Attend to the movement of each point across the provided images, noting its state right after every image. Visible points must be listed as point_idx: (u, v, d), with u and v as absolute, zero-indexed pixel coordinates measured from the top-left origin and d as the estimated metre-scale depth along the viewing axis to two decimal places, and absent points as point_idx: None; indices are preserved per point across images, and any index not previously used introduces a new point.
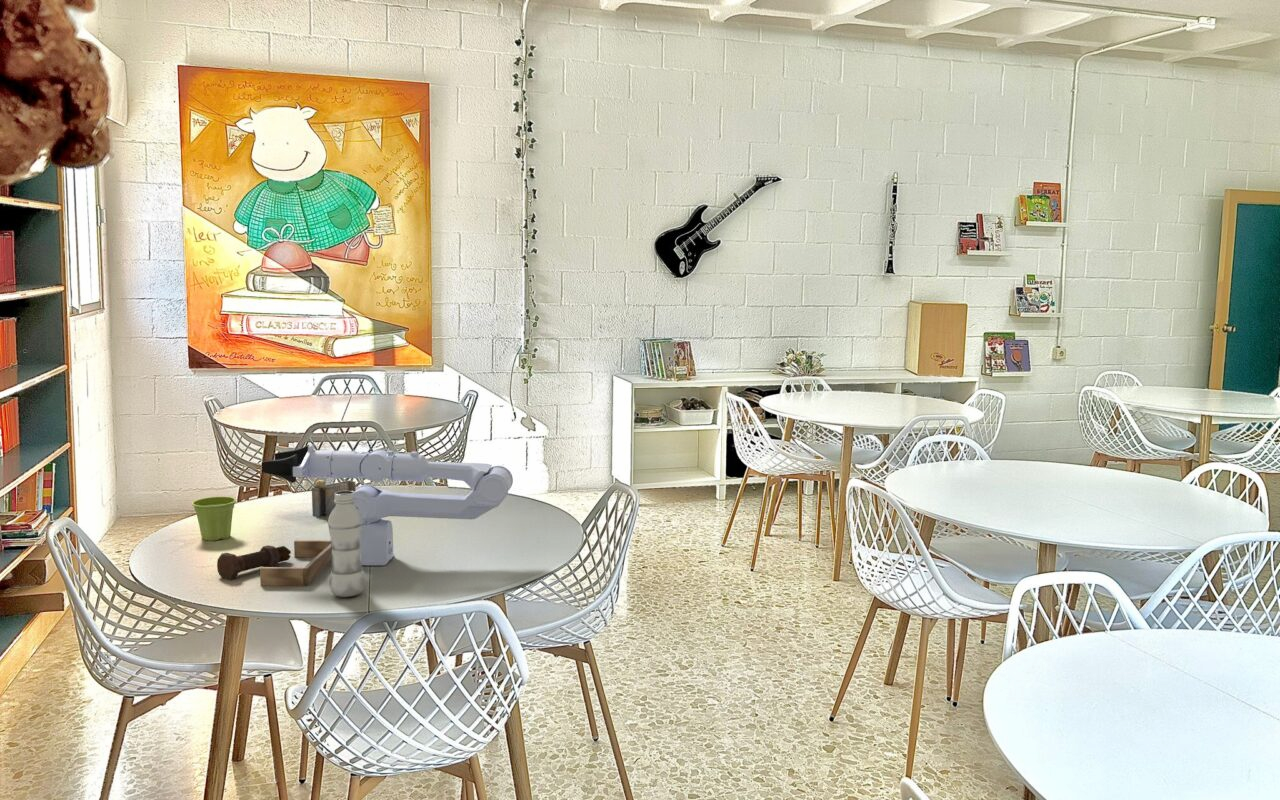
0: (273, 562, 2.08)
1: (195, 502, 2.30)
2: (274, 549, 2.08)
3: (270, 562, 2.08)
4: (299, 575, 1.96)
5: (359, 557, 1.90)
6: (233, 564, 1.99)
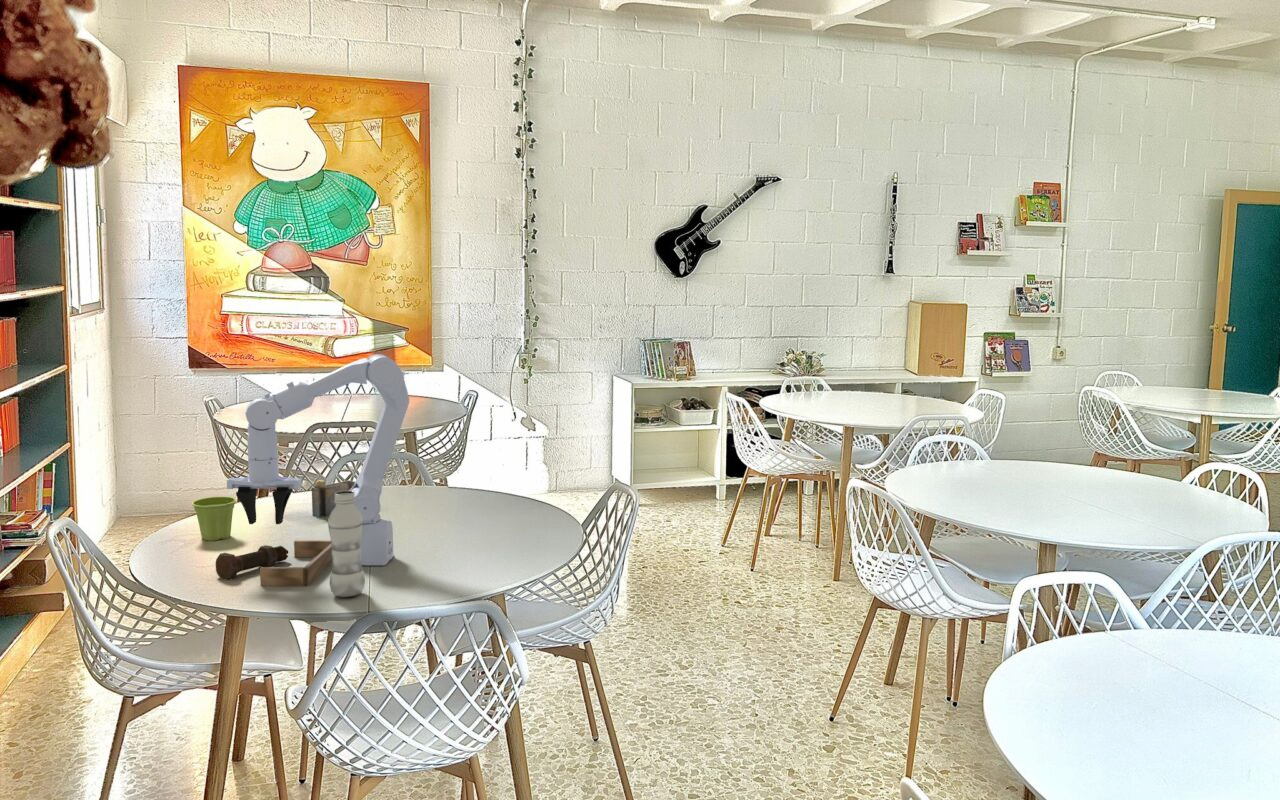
0: (271, 562, 2.08)
1: (195, 502, 2.30)
2: (272, 549, 2.09)
3: (268, 562, 2.08)
4: (299, 575, 1.96)
5: (359, 557, 1.90)
6: (232, 564, 1.99)
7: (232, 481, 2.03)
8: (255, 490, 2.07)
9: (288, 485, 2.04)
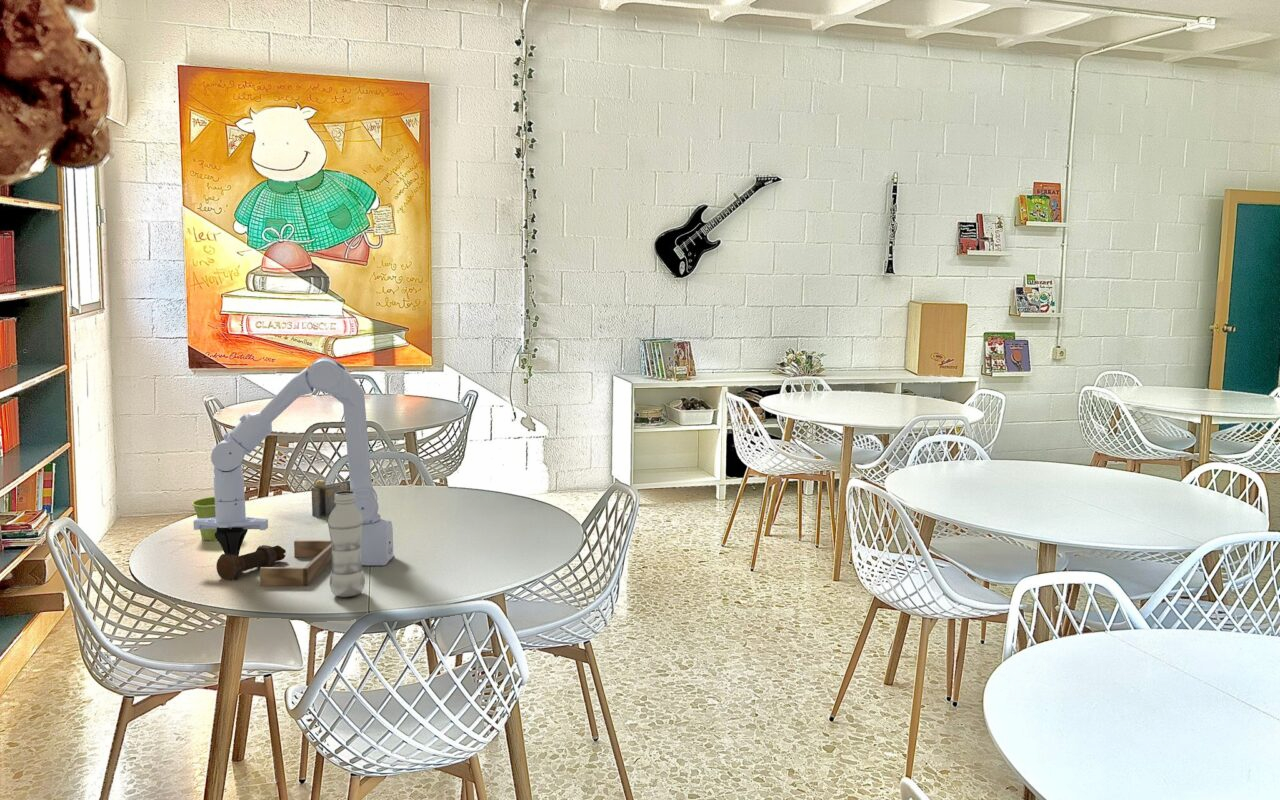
0: (271, 561, 2.08)
1: (195, 502, 2.30)
2: (271, 548, 2.09)
3: (268, 562, 2.08)
4: (299, 575, 1.96)
5: (359, 557, 1.90)
6: (235, 565, 1.99)
7: (199, 522, 2.04)
8: None
9: (255, 526, 2.05)
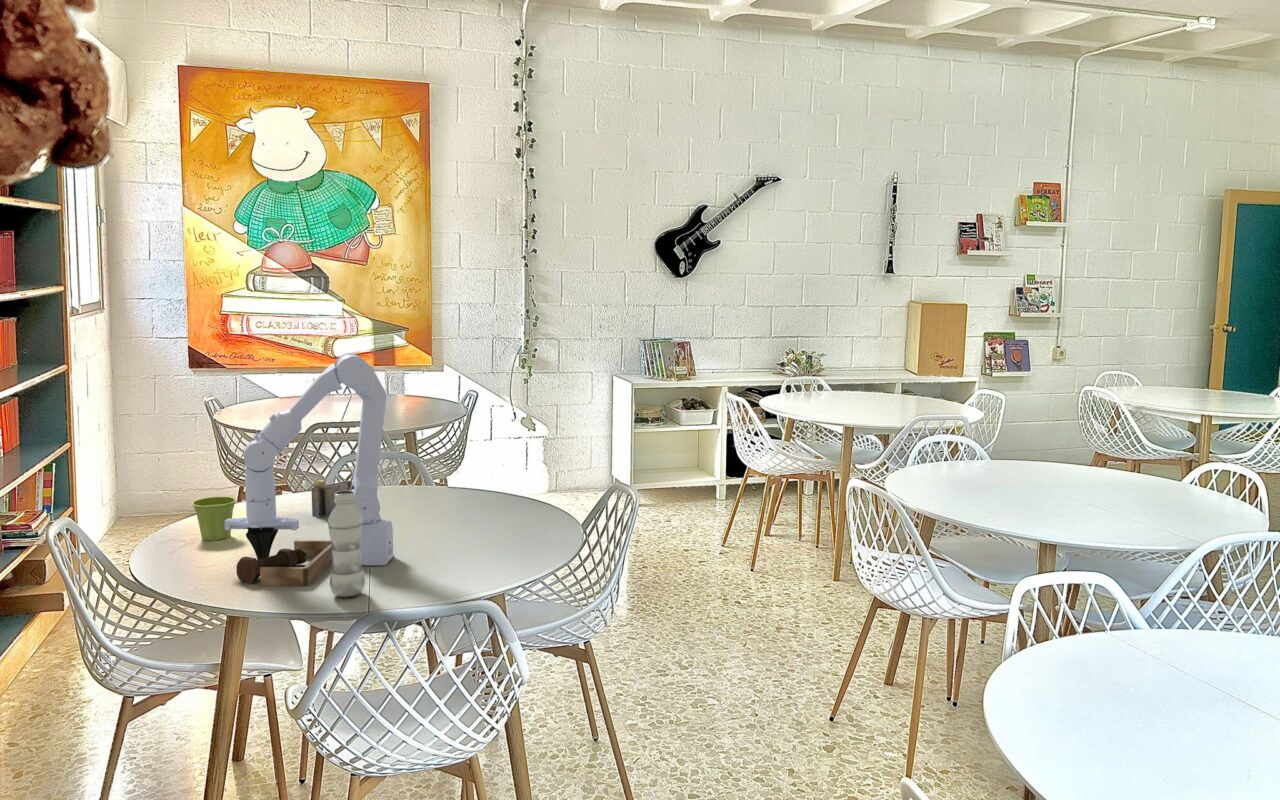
0: (291, 565, 2.06)
1: (195, 502, 2.30)
2: (292, 552, 2.06)
3: (288, 565, 2.06)
4: (299, 575, 1.96)
5: (359, 557, 1.90)
6: (254, 568, 1.97)
7: (230, 522, 2.04)
8: None
9: (285, 526, 2.05)
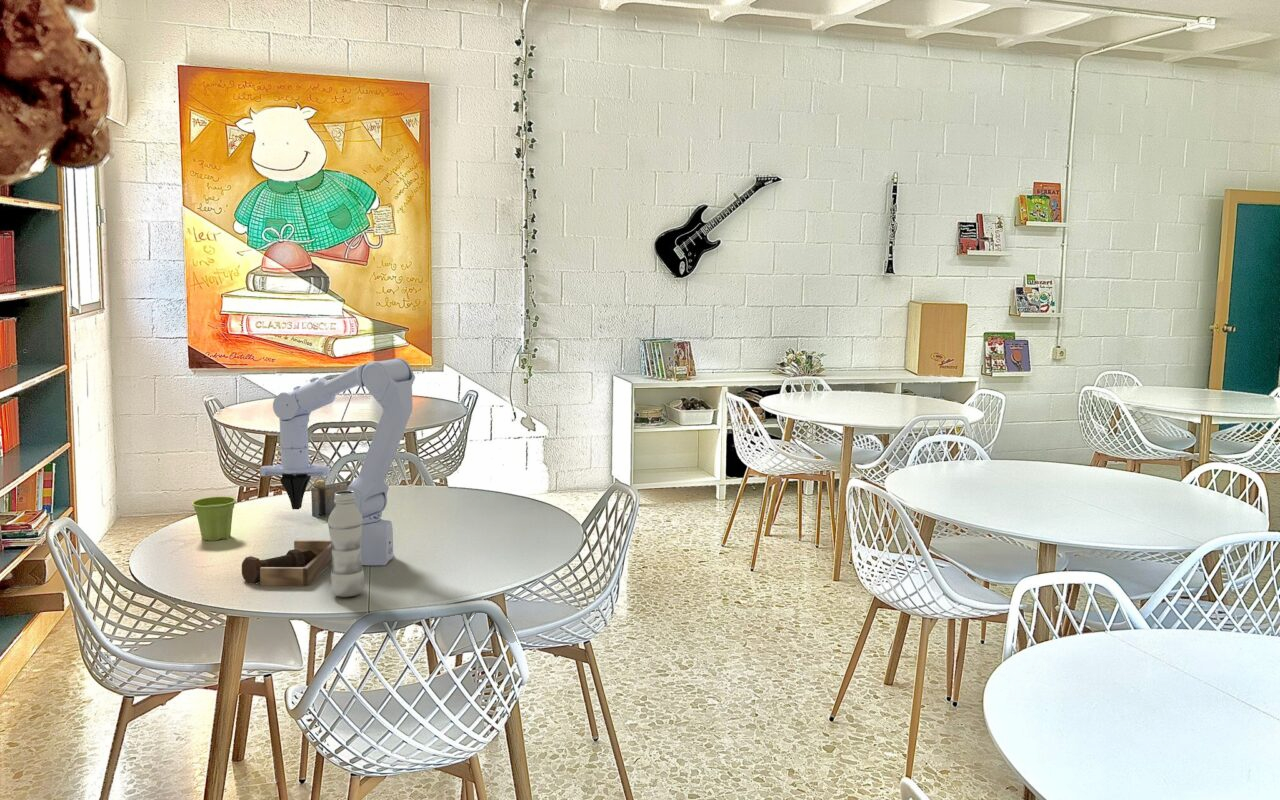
0: (298, 566, 2.05)
1: (195, 502, 2.30)
2: (300, 553, 2.06)
3: (295, 566, 2.05)
4: (299, 575, 1.96)
5: (359, 557, 1.90)
6: (256, 568, 1.97)
7: (265, 469, 2.16)
8: None
9: (318, 472, 2.17)
